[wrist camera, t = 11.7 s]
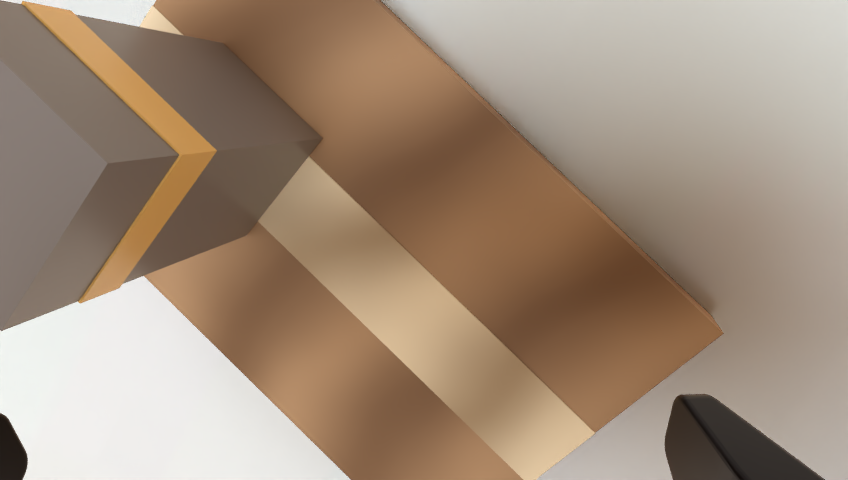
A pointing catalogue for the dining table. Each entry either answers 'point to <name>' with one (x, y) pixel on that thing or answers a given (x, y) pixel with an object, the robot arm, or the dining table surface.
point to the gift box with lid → (126, 154)
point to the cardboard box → (421, 263)
